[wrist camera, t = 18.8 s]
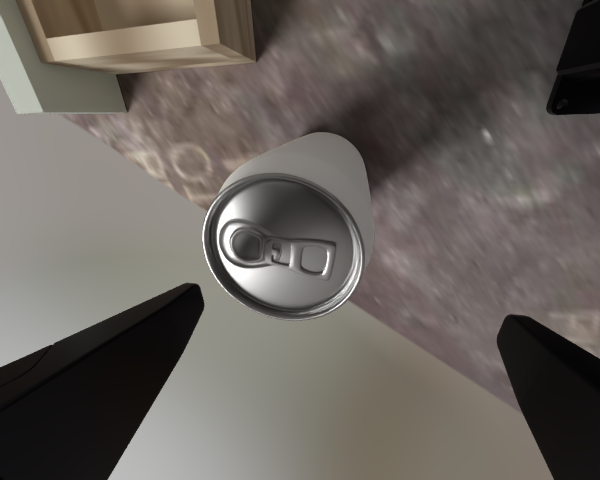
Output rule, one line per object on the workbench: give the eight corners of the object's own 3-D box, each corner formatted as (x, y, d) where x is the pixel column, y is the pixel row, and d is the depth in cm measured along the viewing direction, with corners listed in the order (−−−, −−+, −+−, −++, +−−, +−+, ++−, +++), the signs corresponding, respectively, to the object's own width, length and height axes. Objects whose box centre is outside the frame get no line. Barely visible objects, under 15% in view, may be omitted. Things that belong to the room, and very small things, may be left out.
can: (283, 125, 18) (178, 143, 7) (375, 137, 17) (407, 176, 6) (278, 210, 21) (198, 309, 10) (356, 224, 20) (355, 346, 9)
